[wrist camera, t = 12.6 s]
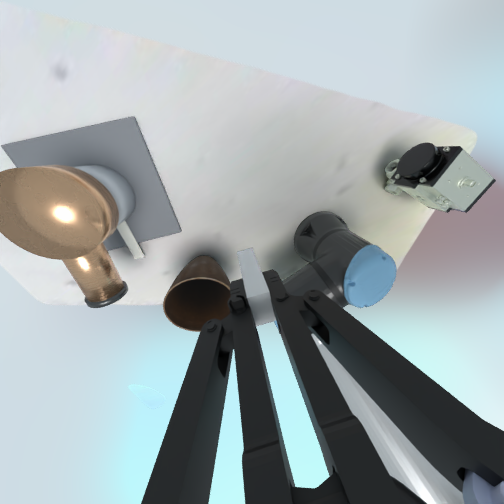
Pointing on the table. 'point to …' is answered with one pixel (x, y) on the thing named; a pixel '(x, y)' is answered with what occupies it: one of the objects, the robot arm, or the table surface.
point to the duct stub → (110, 175)
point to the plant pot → (198, 295)
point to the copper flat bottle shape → (64, 224)
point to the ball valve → (439, 177)
